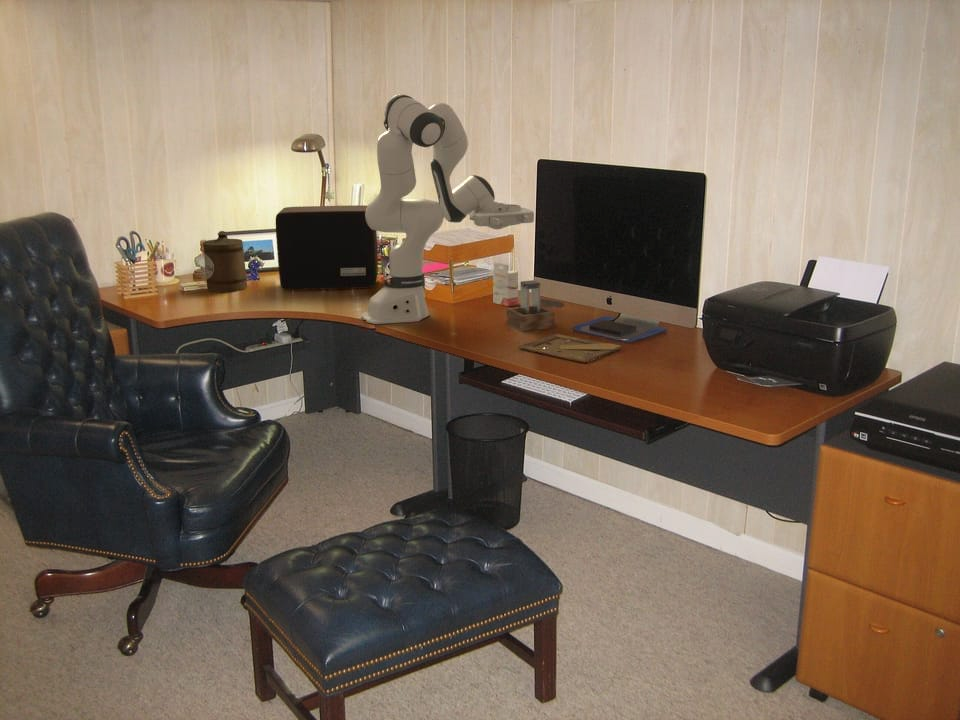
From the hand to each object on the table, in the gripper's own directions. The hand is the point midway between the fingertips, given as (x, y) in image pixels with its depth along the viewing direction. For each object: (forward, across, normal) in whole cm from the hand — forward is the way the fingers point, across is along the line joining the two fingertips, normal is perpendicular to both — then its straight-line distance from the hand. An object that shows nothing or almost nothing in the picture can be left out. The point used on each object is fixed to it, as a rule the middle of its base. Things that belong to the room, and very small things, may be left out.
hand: (513, 221), depth 305 cm
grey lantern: (+12, 0, +31) cm, 33 cm away
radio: (-76, -42, +32) cm, 92 cm away
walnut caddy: (+12, 0, +32) cm, 34 cm away
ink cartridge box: (-19, +6, +32) cm, 38 cm away
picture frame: (+42, -2, +33) cm, 53 cm away
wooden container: (-90, -79, +32) cm, 124 cm away
